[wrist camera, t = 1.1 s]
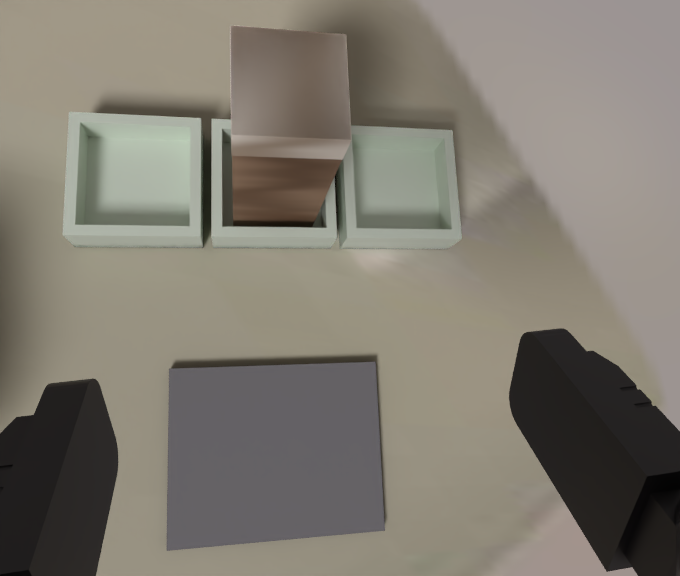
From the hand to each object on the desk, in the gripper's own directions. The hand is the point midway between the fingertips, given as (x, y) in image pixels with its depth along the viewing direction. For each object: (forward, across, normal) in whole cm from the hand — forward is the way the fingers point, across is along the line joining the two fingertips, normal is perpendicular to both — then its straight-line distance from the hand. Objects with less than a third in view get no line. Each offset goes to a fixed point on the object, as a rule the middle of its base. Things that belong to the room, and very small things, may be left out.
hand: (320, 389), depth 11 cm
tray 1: (+20, +6, +3) cm, 21 cm away
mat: (+11, +1, +13) cm, 17 cm away
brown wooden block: (+19, 0, +3) cm, 19 cm away
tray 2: (+20, 0, +4) cm, 20 cm away
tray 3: (+20, -7, +4) cm, 21 cm away
